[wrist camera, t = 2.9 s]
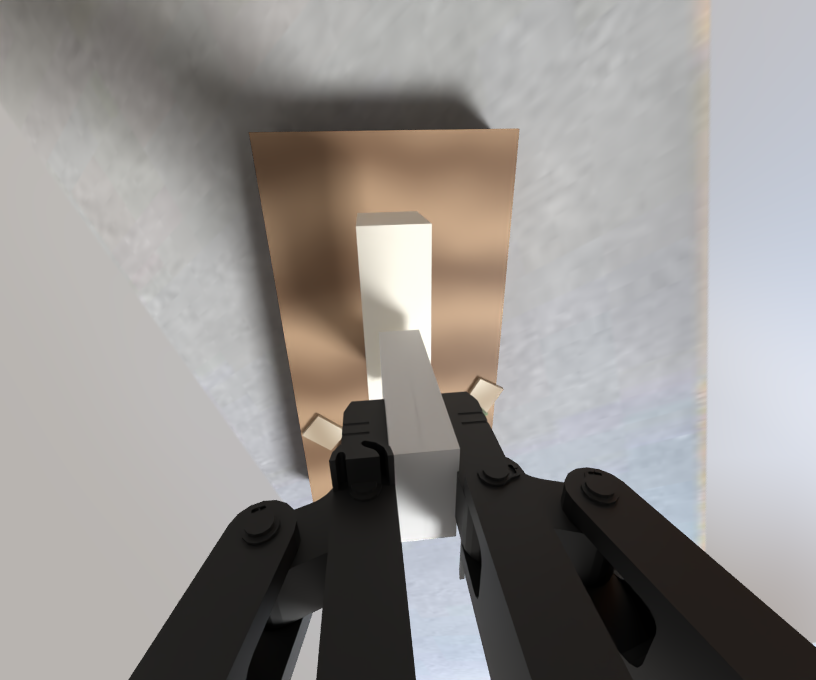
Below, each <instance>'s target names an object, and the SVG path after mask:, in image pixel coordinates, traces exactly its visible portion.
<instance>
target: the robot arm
mask: <svg viewBox="0 0 816 680" xmlns="http://www.w3.org/2000/svg"><path fill="white" fill-rule="evenodd" d="M379 345H380V362H381V380H382V396H383V399H376V400H364V401H351V403H350V404H349V405H348V407H347V408H346V409H345V411H344V413H343V426H342V438H341V444H340V445H339V446H338V447H337V448H336V449H335V450H334V451H333V452H332V454H331V457H330V459H329V466H330V473H331V480H332V487H333V488H332V489H331V490H330V491H329V492H328V493H327V494H326V495H325V496H323V497H322V498H321V499H319V500H317V501H315V502H313V503H311V504H308V505H306V506H303V507H300V508H298V509H295V510H294V509H293V508H292V507H291V506H289V505H288V504H287V503H284V502H281V501H277V500H272V501H262V502H260V503H257V504H254V505H251V506H249V507H248V508H247V509H245V510H243V511H242V512H240V513H239V514H238V515H237V516H236V517H235V518H234V519H233V521H232V522H231V523H230V524H229V525H228V527H227V528H226V530H225V531H224V533H223V534H222V536H221V538H220V539H219V541H218V542H217V544H216V545H215V547H214V548H213V550H212V551H211V553H210V555H209V556H208V558H207V559H206V561H205V562H204V564H203V565H202V567H201V568H200V570H199V572H198V573H197V575H196V576H195V578H194V579H193V581H192V582H191V584H190V586H189V587H188V589H187V590H186V592H185V593H184V595H183V596H182V598H181V599H180V601H179V602H178V604H177V606H176V607H175V609H174V610H173V612H172V613H171V615H170V617H169V618H168V620H167V621H166V623H165V624H164V626H163V627H162V629H161V630H160V632H159V633H158V635H157V637H156V638H155V640H154V641H153V643H152V645H151V646H150V647H149V649H148V650H147V652H146V653H145V655H144V657H143V658H142V660H141V661H140V663H139V664H138V666H137V667H136V669H135V670H134V672H133V674H132V675H131V677H130V678H129V680H291V677H292V674H293V671H294V668H295V665H296V662H297V658H298V655H299V652H300V649H301V646H302V643H303V640H304V637H305V634H306V631H307V628H308V625H309V622H310V619H311V616H312V613H313V612H315V611H317V610H319V609H321V608H323V610H322V622H321V634H320V644H319V655H318V667H317V678H316V680H416V676H415V666H414V657H413V647H412V638H411V628H410V619H409V610H408V600H407V591H406V581H405V572H404V562H403V553H402V543H401V542H408V541H417V540H426V539H435V538H444V537H453V536H456V523H457V526H458V530H459V534H460V538H461V549H460V567H459V575H460V579H464V576H465V577H466V581H467V585H468V589H469V593H470V597H471V601H472V605H473V609H474V613H475V617H476V621H477V625H478V629H479V633H480V637H481V641H482V645H483V649H484V653H485V657H486V662H487V666H488V670H489V674H490V678H491V680H816V647H815V646H814V645H813V644H811V643H810V642H809V641H808V640H807V639H806V638H805V637H803V636H802V635H801V634H799V632H797V631H796V630H795V629H794V628H793V627H792V626H790V625H789V624H788V623H787V622H786V621H785V620H784V619H782V618H781V617H780V616H779V615H778V614H777V613H775V612H774V611H773V610H772V609H771V608H770V607H768V606H767V605H766V604H765V603H764V602H763V601H761V600H760V599H759V598H758V597H757V596H755V595H754V594H753V593H752V592H751V591H750V590H749V589H747V588H746V587H745V586H744V585H743V584H742V583H740V582H739V581H738V580H737V579H735V577H733V576H732V575H731V574H730V573H729V572H727V571H726V570H725V569H724V568H723V567H722V566H721V565H719V564H718V563H717V562H716V561H715V560H714V559H712V558H711V557H710V556H709V555H708V554H707V553H706V552H704V551H703V550H702V549H701V548H700V547H699V546H697V545H696V544H695V543H694V542H693V541H692V540H690V539H689V538H688V537H687V536H686V535H685V534H683V533H682V532H681V531H680V530H679V529H678V528H676V527H675V526H674V525H673V524H672V523H671V522H669V521H668V520H667V519H666V518H665V517H664V516H662V515H661V514H660V513H659V512H658V511H657V510H655V509H654V508H653V507H652V506H651V505H650V504H648V503H647V502H646V501H645V500H644V499H643V498H641V497H640V496H639V495H638V494H637V493H636V492H634V491H633V490H632V489H631V488H630V487H629V486H627V485H626V484H625V483H624V482H623V481H621V480H620V479H618V478H617V477H615V476H614V475H612V474H610V473H607V472H605V471H602V470H600V469H594V468H587V467H586V468H579V469H575V470H573V471H571V472H570V473H568V475H567V477H566V479H565V482H564V483H563V482H557V481H551V480H544V479H539V478H535V477H531V476H529V475H526V474H525V473H524V471H523V470H522V469H521V467H520V466H519V465H518V464H517V463H515V462H514V461H512V460H511V459H509V458H507V457H505V455H504V453H503V451H502V449H501V447H500V445H499V443H498V441H497V439H496V437H495V435H494V433H493V431H492V429H491V427H490V425H489V423H488V422H487V418H486V416H485V414H484V413H483V410H482V408H481V406H480V404H479V402H478V400H477V399H475V398H474V397H473V396H472V395H470V394H469V393H468V392H467V391H464V392H452V393H441V392H440V389H439V386H438V383H437V380H436V377H435V375H434V372H433V369H432V366H431V363H430V360H429V357H428V354H427V351H426V348H425V346H424V343H423V340H422V337H421V334H420V331H419V330H404V331H387V332H379Z"/></svg>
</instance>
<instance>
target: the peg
mask: <svg viewBox="0 0 816 680" xmlns="http://www.w3.org/2000/svg"><path fill="white" fill-rule="evenodd" d="M356 235H357V248H358V262H359V275H360V288H361V301H362V314H363V327H364V340H365V354H366V367H367V380H368V393H369V400H376V399H383V396H382V380H381V362H380V345H379V332H387V331H404V330H419V331H420V334H421V337H422V340H423V343H424V346H425V348H426V351H427V354H428V357H429V360H430V363H431V265H432V223H430V222H429V221H428V220H427V219H426V218H424V217H423V216H422V215H421V214H420V213H418V212H417V211H407V212H377V213H357V221H356Z"/></svg>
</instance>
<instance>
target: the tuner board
mask: <svg viewBox="0 0 816 680" xmlns="http://www.w3.org/2000/svg"><path fill="white" fill-rule="evenodd" d="M249 136H250V142H251V148H252V153H253V159H254V165H255V171H256V176H257V182H258V188H259V194H260V199H261V205H262V211H263V217H264V222H265V228H266V234H267V240H268V245H269V251H270V257H271V263H272V268H273V274H274V280H275V286H276V291H277V297H278V303H279V309H280V314H281V320H282V326H283V332H284V337H285V343H286V349H287V355H288V360H289V366H290V372H291V377H292V383H293V389H294V395H295V400H296V406H297V412H298V418H299V423H300V429H301V435H302V441H303V446H304V452H305V458H306V464H307V469H308V475H309V481H310V487H311V492H312V498H313V502H315V501H317V500H319V499H321V498H322V497H323V496H325V495H326V494H327V493H328V492H329V491H330V490H331V489H332V488H333V487H332V480H331V473H330V466H329V459H330V457H331V454H332V452H333V451H334V450H335V449H336V448H337V447H338V446H339V445H340V444H341V438H342V426H343V413H344V411H345V409H346V408H347V407H348V405H349V404H350V403H351V401H364V400H369V393H368V380H367V367H366V354H365V340H364V327H363V314H362V301H361V288H360V275H359V262H358V248H357V235H356V221H357V213H377V212H407V211H417V212H418V213H420V214H421V215H422V216H423V217H424V218H426V219H427V220H428V221H429V222H430V223H432V265H431V366H432V369H433V372H434V375H435V377H436V380H437V383H438V386H439V389H440V392H441V393H452V392H464V391H467V392H468V393H469V394H470V395H472V396H473V397H474V398H475V399H477V400H478V402H479V404H480V406H481V408H482V410H483V413H484V414H485V416H486V418H487V422H488V423H489V425H490V427H491V429H492V424H493V413H494V402H495V401H496V399H497V398H498V396H499V395H500V394H501V392H502V391H503V388H502V387H500V386H498V385H496V380H497V369H498V358H499V347H500V336H501V325H502V314H503V303H504V292H505V281H506V270H507V259H508V248H509V237H510V226H511V215H512V204H513V193H514V182H515V171H516V160H517V149H518V138H519V129H455V130H383V131H312V132H249Z"/></svg>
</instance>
